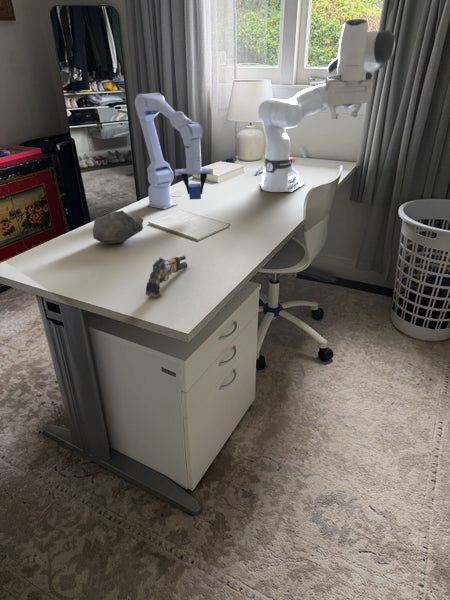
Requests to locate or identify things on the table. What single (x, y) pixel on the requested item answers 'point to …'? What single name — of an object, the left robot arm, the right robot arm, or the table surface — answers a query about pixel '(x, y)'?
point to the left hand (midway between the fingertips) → (195, 193)
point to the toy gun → (163, 273)
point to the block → (195, 191)
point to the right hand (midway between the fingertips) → (344, 117)
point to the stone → (116, 227)
